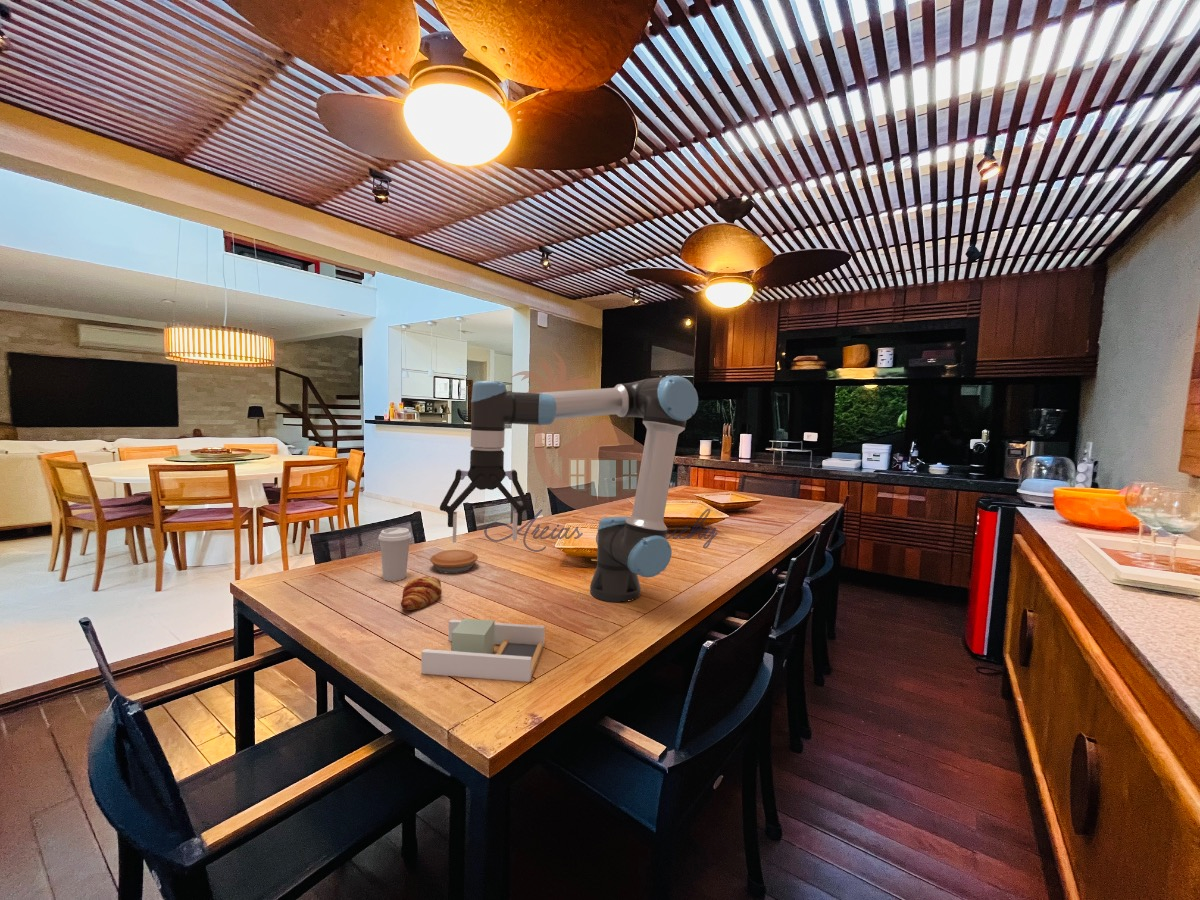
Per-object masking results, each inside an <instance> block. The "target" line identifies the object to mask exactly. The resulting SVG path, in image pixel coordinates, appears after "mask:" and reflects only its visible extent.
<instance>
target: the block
mask: <svg viewBox="0 0 1200 900" xmlns="http://www.w3.org/2000/svg"><path fill="white" fill-rule="evenodd" d="M494 623H496V621H495V620H494V619H493V620H490V619H478V618H477V619H476V618H474V619H473V618H462V621H461V622H460V623H459V624H458V626H457V627H456V628H455V629H454V630H453V632H452V641H450V643H451V644H450V645H451V646H450V647H451V650H450V651H458V652H471V653H485V654H494V651H495V650H494V649H495V644H494Z"/></svg>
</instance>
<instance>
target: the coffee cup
mask: <svg viewBox="0 0 1200 900" xmlns="http://www.w3.org/2000/svg"><path fill="white" fill-rule="evenodd" d="M411 538H412V533H411V532H410V530H409V528H406V527H389V528H385V529H382V530H381V531H380V534H378V539H377V540H379V545H380V556H381V564H382V565H381V567H382V568H381V569H382V578H383V581H385V580H387V581H386V582H397V581H396V580H400V581H402V580H401V579H403V580H405V579H406V578H405V577H407V570H408V561H409V559H408V558H409V550H410V543H411V542H410V541H411ZM404 578H405V579H404Z"/></svg>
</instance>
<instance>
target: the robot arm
mask: <svg viewBox="0 0 1200 900" xmlns="http://www.w3.org/2000/svg"><path fill="white" fill-rule="evenodd" d="M470 403H471V410H470V411H471V417H470V418H471V420H470V421H471V424H470V425H471V427H470V447H471V448H472V449H471V450H470V452H469V453H470V455H469V459H470V460H469V461H470V462H469V470H462V469H460V468H457V469H456V470H455V475H454V480H453V481H452V483H451V485H450V486H449V489H448V491H447V492H446V494H445V496H444V497H443V499H442V502H441V503H440V506H439V511H441V512H442V511H443V512H446V513H447V527H448V528H452V543H457V523H458V521H457V519H458V511H456V510H457V509H458V507H460V505H462V503H464V501H465V500H466V499H467V498H468V497H469V496H470V495H471V493H472V492H474V490H475V489H477V490H480V491H483V490H491V491H494V490H495V489H498V490H499V491H500V493H502V495H503V496H504V497H505V498H506V499H507V501H508V502H509V503H510V504H511V505H512V506H513V508H514V509H515V510H513V511H512V535H511V536H512V541H515V542H516V541H517V540H518V526H521V527H522V524H523V512H524V511H528V510H530V509H531V505H530V503H529V501H528V499H527V496H526V493H525V492H524V489H523V488H522V486H521V484H520V482H519V480H518V471H517V470H515V469H512V470H507V471H506V470H505V469H504V466H505V465H504V464H505V462H504V461H505V460H504V459H505V456H504V455H505V451H504V450H503V449H504V448H505V434H506V433H505V431H506V428H505V427H506V424H507V425H512V424H513V425H528V426H529V425H533V426H535V425H536V426H549V425H551V424H553V423H554V421H555V420H564V419H575V418H587V417H599V416H608V415H609V416H610V415H616V416H617V417H620V418H626V417H627V418H628V417H629V418H630V417H632V418H639V419H640V418H642V424H643V425H644V426H645V429H646V434H645V440H644V446H643V451H642V457H641V463H640V469H639V472H638V473H639V475H638V479H637V484H636V491H635V497H634V502H633V508H632V513H631V514H632V515H631V516H608V517H602V518H600V519H599V522H598V527H597V550H596V551H597V554H596V555H597V557H596V567H595V570H594V574H593V577H592V579H591V581H590V585H589V586H590V587H589V593H590V595H591V596H592V597H593V598H596V599H598V600H601V601H605V602H609V603H621V602H620V601H627V602H629V601H628V600H632V599H635V598H637V597H638V596H639V595H640V596H641V591H642V590H641V583H640V580H639V577H638V576H640V577H643V578H653V577H656V576H658V575H660V574H661V573H662V572H663V571H664V570H666V568H667V567H668V565H669V564H670V561H671V559H672V553H673V552H672V545H670V542H669V541H668V540H667V532H668V527H667V526H666V523H665V522H664V517H665V510H666V507H667V500H668V495H669V490H670V489H669V488H670V483H671V478H672V472H673V466H674V461H675V455H676V451H677V449H676V448H677V443H678V438H679V434H681V433H682V432H683V431H685V430H686V427H687V420H689V419H691V418H692V416H694V415H695V414H696V411H697V410H698V406H699V396H698V392H697V390H696V388H695V387H694V385H693V384H692V382H691V381H690V380H689V379H687V378H685V377H682V376H678V375H677V376H674V375H673V376H672V375H667V376H663V377H655V378H654V377H652V378H645V379H642V380H636V381H633V382H627V383H618V384H616V385H615V386H614V387H607V388H606V387H605V388H593V389H591V388H590V389H589V388H588V389H575V390H573V389H572V390H559V391H558V390H557V391H543V392H520V391H519V392H517V391H516V392H515V391H509V390H507V385H506V383H505V382H503V381H495V380H494V381H493V380H477V381H475V382H474V383H473V385H472V392H471V400H470ZM465 477H468V479H470V481H471V482H470V483H469V484H468V485H467V487H466V488H465V489H464V490H463V491H462V492H461V493H460V494H459V496H458V497H456V499H455V500H454V501H453V502H452V503H451V504H450V505H448V504H449V503H450V501H451V499H452V498H453V495H454V494H455V492H456V490H457V489H458V487H459V485H460V482H461V481H462V480H464V479H465ZM505 477H507V478H508V480H509V481H511V482H512V483H513V484H512V485H513V486H514V488H515V490H516V492H517V494H518V496H519V499H520V501H521V503H522V504H521V505H520V503H519V502H518V501H517V500H516V498H515V497H513V495H512V494H511V493H510V491H509V490H508V489H507V488H506V487H505V486H504V484H503V483H502V482H503V480H504V479H505ZM640 596H639V597H640ZM639 597H638V598H639ZM638 598H637V599H638ZM635 600H636V599H635ZM632 601H633V600H632Z"/></svg>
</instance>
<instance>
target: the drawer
mask: <svg viewBox="0 0 1200 900" xmlns="http://www.w3.org/2000/svg"><path fill="white" fill-rule="evenodd" d="M543 649H544V646H543V643H538V645H531V644H517V643H508V640H504V641H503V643H502V644H500V646H499V648H498V650H497V652H496V653H495V654H499V655H512V656H526V657H532V658H531V678H532V677H533V675H532V674H534V672H535V669H536V666H537V664H538V663H539V662H538V661H539V659H540V657H541V653H542V652H543ZM541 651H542V652H541Z"/></svg>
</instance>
